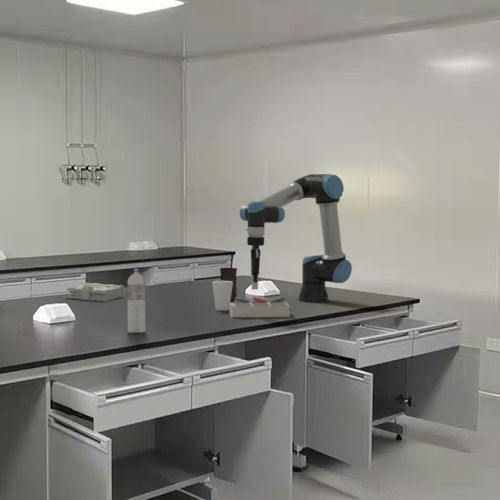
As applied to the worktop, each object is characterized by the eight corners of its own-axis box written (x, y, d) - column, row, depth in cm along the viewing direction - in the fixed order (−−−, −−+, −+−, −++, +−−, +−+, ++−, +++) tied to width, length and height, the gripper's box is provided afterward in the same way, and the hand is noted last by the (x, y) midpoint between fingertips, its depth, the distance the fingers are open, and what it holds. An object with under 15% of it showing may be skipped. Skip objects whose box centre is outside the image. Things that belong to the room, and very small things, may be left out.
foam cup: (235, 308, 361) (235, 281, 359) (228, 311, 352) (228, 283, 351) (216, 307, 364) (216, 280, 362) (209, 310, 355) (209, 282, 354)
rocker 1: (247, 302, 342) (248, 299, 342) (248, 303, 338) (249, 301, 338) (234, 299, 341) (235, 296, 341) (235, 300, 337) (236, 297, 337)
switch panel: (288, 312, 350) (288, 299, 349) (292, 316, 340) (292, 302, 339) (229, 313, 346) (229, 299, 346) (231, 317, 336) (231, 303, 335)
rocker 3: (283, 298, 344) (282, 296, 343) (285, 300, 340) (284, 297, 340) (270, 302, 343) (270, 299, 343) (272, 303, 339) (271, 301, 339)
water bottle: (128, 330, 303) (128, 268, 301) (145, 330, 304) (145, 268, 302) (127, 334, 297) (126, 270, 294) (144, 334, 297) (144, 270, 295)
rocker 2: (265, 302, 343) (266, 299, 343) (266, 303, 339) (267, 300, 339) (252, 298, 342) (253, 296, 342) (253, 300, 338) (254, 297, 338)
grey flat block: (82, 293, 405) (81, 279, 404) (126, 297, 393) (125, 282, 393) (58, 299, 388) (58, 284, 387) (103, 303, 376) (103, 288, 375)
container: (235, 307, 365) (235, 269, 363) (217, 306, 367) (217, 269, 365) (239, 304, 374) (239, 267, 372) (221, 303, 375) (221, 267, 374)
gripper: (245, 235, 343) (244, 287, 345) (249, 237, 331) (248, 291, 332) (262, 235, 344) (260, 287, 346) (266, 237, 331) (265, 291, 333)
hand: (254, 289), depth 339 cm, fingers closed
